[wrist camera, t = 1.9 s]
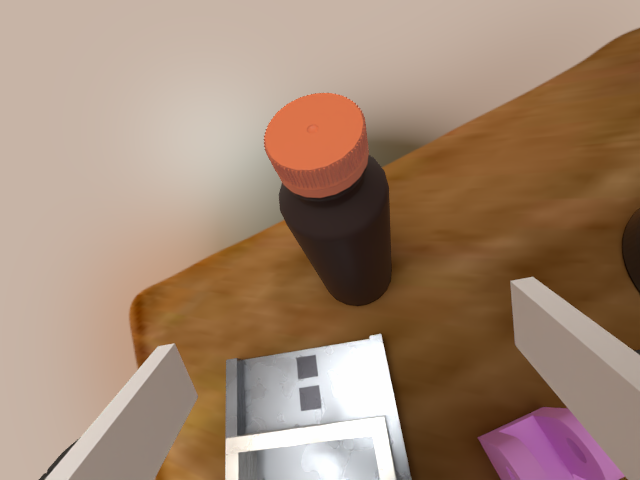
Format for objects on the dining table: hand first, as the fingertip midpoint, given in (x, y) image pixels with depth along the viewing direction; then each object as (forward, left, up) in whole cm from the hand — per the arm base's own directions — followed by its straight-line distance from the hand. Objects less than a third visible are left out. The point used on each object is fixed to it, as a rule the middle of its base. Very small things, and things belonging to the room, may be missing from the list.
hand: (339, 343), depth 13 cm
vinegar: (-1, -9, -18) cm, 21 cm away
